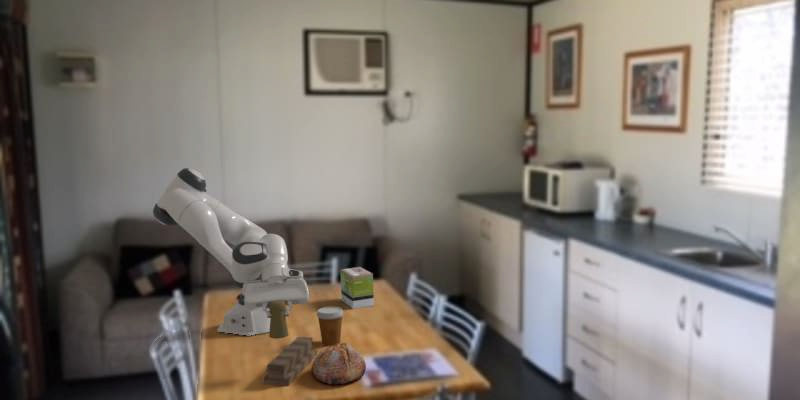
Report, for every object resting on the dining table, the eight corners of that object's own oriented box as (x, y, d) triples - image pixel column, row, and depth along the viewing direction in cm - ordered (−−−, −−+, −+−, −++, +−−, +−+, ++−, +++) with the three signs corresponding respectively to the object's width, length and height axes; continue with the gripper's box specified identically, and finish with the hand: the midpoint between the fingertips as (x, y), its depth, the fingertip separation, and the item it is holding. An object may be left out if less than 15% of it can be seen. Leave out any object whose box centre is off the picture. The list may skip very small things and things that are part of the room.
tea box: (340, 301, 285) (339, 268, 283) (361, 298, 289) (360, 266, 288) (352, 309, 271) (351, 275, 270) (374, 306, 276) (373, 272, 274)
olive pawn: (283, 338, 198) (282, 304, 196) (265, 337, 199) (263, 303, 198) (291, 332, 203) (290, 298, 202) (274, 331, 205) (272, 298, 204)
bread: (356, 363, 212) (357, 334, 211) (372, 385, 193) (373, 353, 192) (306, 367, 207) (307, 337, 206) (318, 390, 188) (319, 357, 187)
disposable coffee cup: (348, 339, 233) (347, 307, 232) (338, 348, 224) (337, 314, 223) (324, 337, 236) (323, 305, 235) (313, 345, 227) (312, 312, 226)
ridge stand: (288, 385, 192) (288, 366, 191) (263, 383, 194) (262, 364, 193) (316, 355, 217) (316, 337, 217) (294, 354, 219) (293, 336, 218)
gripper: (242, 275, 204) (243, 314, 195) (307, 271, 208) (310, 308, 200) (243, 286, 209) (244, 324, 200) (306, 281, 213) (310, 318, 205)
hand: (278, 316), depth 200 cm, fingers closed on olive pawn, 4 cm apart
